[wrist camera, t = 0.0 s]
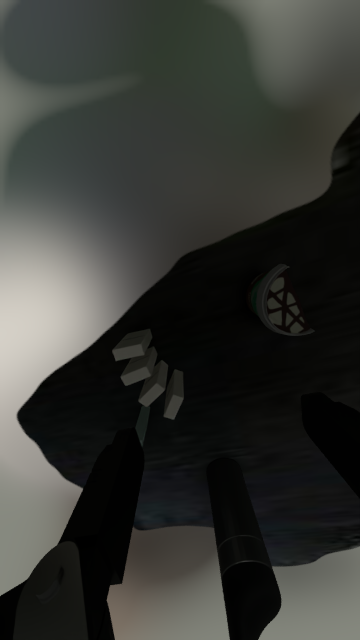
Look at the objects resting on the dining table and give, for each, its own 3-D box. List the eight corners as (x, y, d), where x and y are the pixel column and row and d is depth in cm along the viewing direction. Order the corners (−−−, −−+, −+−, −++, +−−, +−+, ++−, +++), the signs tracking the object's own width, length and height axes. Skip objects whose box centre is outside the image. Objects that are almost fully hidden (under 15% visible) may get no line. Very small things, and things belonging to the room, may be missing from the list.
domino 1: (152, 337, 38) (144, 354, 29) (130, 342, 38) (115, 360, 30) (149, 328, 38) (140, 343, 29) (127, 333, 38) (112, 349, 29)
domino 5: (182, 371, 40) (183, 398, 31) (175, 389, 41) (173, 419, 32) (174, 369, 40) (173, 394, 31) (167, 386, 41) (163, 416, 32)
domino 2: (157, 354, 39) (151, 376, 30) (137, 362, 40) (125, 386, 31) (153, 346, 39) (146, 366, 30) (133, 354, 39) (120, 376, 30)
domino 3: (150, 406, 42) (142, 440, 34) (147, 423, 43) (139, 460, 35) (141, 405, 42) (132, 439, 34) (139, 422, 43) (129, 459, 35)
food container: (229, 282, 35) (248, 284, 26) (257, 267, 35) (287, 262, 25) (254, 332, 38) (280, 351, 28) (280, 319, 37) (316, 333, 28)
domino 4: (168, 365, 40) (165, 390, 31) (153, 379, 41) (146, 407, 32) (161, 359, 39) (156, 382, 31) (147, 374, 40) (138, 400, 32)
